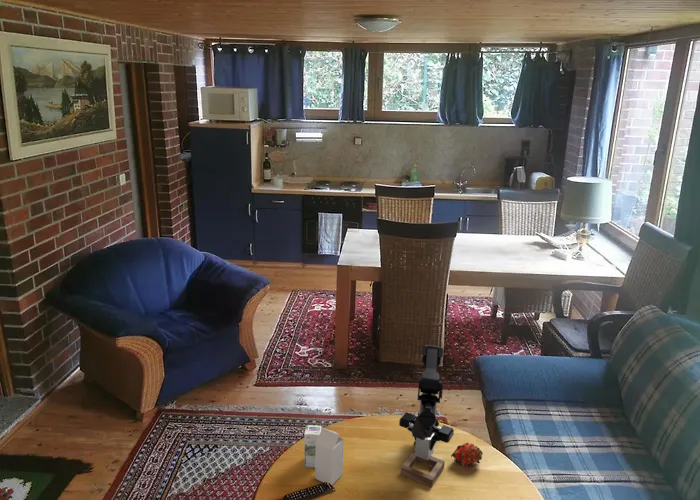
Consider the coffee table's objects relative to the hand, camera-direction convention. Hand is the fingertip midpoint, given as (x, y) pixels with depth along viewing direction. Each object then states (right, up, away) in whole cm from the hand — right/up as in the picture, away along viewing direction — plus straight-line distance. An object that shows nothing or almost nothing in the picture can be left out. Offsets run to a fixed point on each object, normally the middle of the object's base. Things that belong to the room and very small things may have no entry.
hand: (424, 447), depth 198 cm
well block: (0, -10, +3) cm, 10 cm away
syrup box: (-41, -8, +5) cm, 42 cm away
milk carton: (-34, -10, -2) cm, 36 cm away
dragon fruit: (+17, -9, +8) cm, 21 cm away
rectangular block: (0, -3, +1) cm, 3 cm away
